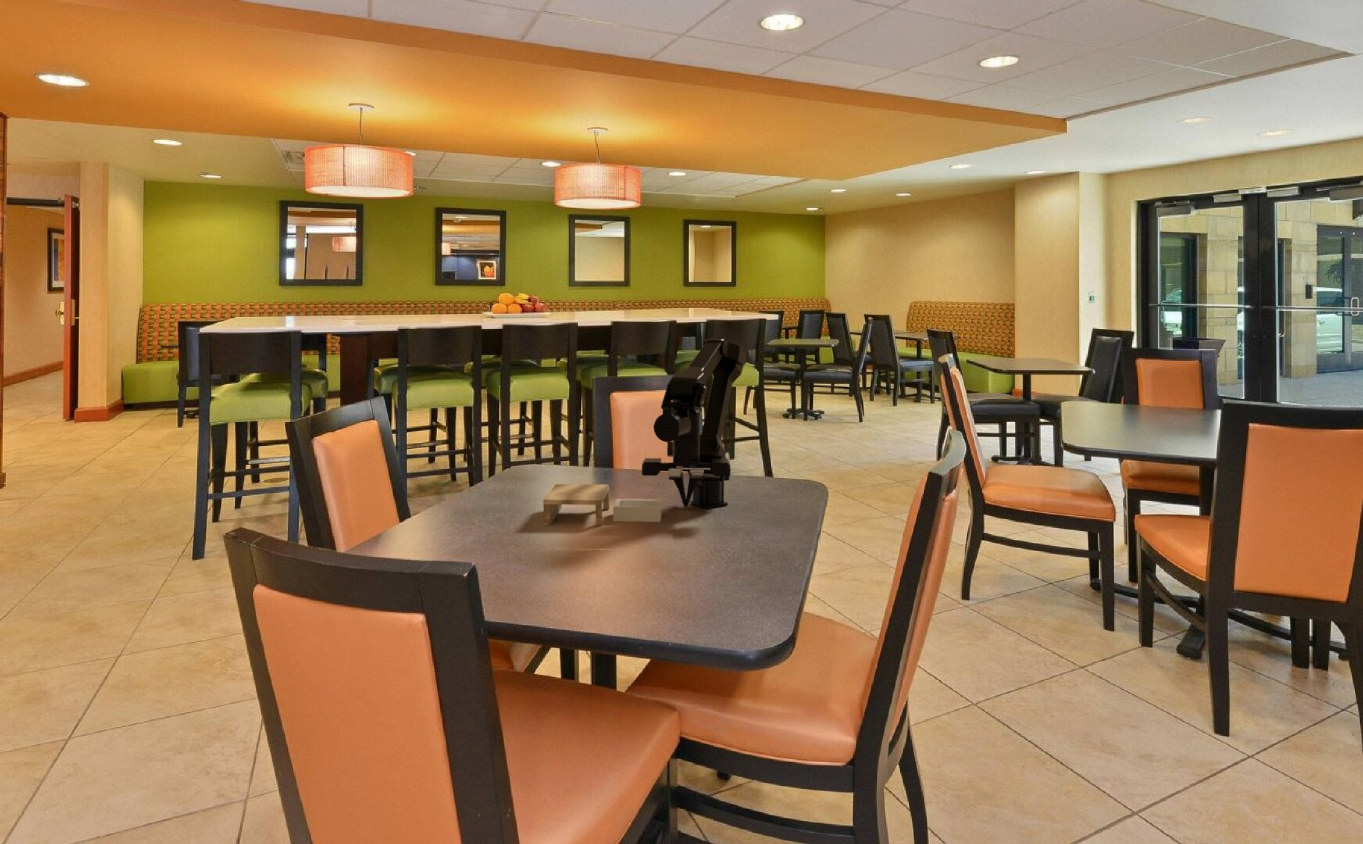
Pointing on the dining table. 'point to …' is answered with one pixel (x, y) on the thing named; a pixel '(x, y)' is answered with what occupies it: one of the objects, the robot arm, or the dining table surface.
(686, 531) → the dining table surface
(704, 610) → the dining table surface
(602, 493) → the oak shelf
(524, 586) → the dining table surface
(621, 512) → the beige tray
